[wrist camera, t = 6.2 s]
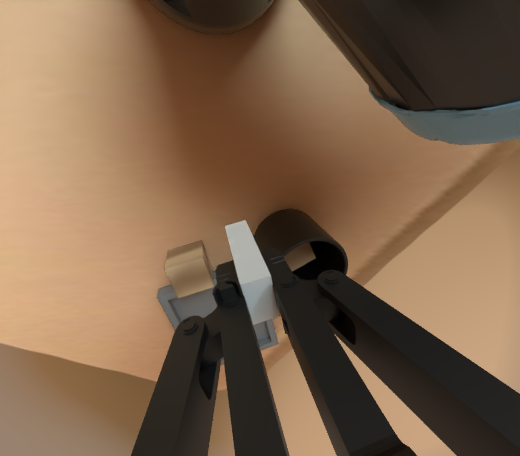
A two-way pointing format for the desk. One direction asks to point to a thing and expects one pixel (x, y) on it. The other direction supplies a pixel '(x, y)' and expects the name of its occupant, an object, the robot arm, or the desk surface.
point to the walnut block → (299, 256)
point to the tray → (207, 312)
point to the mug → (301, 242)
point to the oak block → (189, 269)
